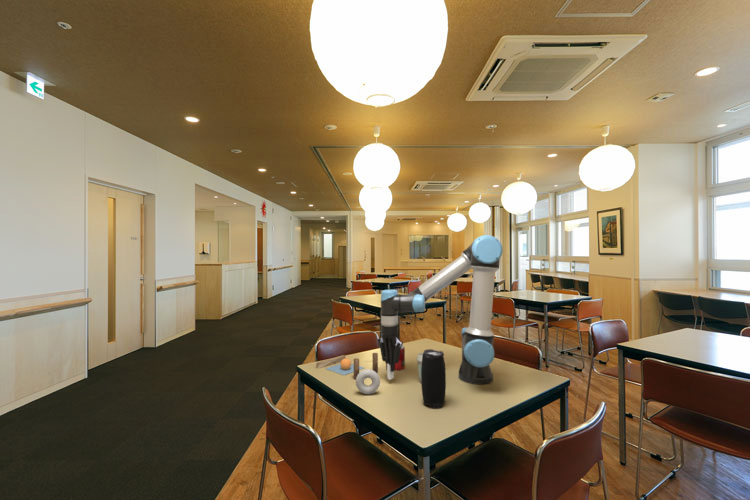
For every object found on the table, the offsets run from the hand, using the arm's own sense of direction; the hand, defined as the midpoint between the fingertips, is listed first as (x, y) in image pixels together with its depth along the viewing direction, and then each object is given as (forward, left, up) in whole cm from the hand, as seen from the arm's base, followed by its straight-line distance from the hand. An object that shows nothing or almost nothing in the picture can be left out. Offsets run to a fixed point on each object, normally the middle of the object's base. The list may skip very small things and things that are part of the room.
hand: (390, 378), depth 145 cm
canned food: (+11, -18, -2) cm, 21 cm away
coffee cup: (-11, -12, -2) cm, 16 cm away
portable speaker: (-26, +5, -2) cm, 26 cm away
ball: (+29, +1, +1) cm, 29 cm away
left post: (+15, +6, -2) cm, 17 cm away
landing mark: (+30, 0, -2) cm, 30 cm away
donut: (-1, +15, -2) cm, 15 cm away
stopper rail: (+41, 0, -2) cm, 41 cm away
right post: (+15, -6, -2) cm, 17 cm away
